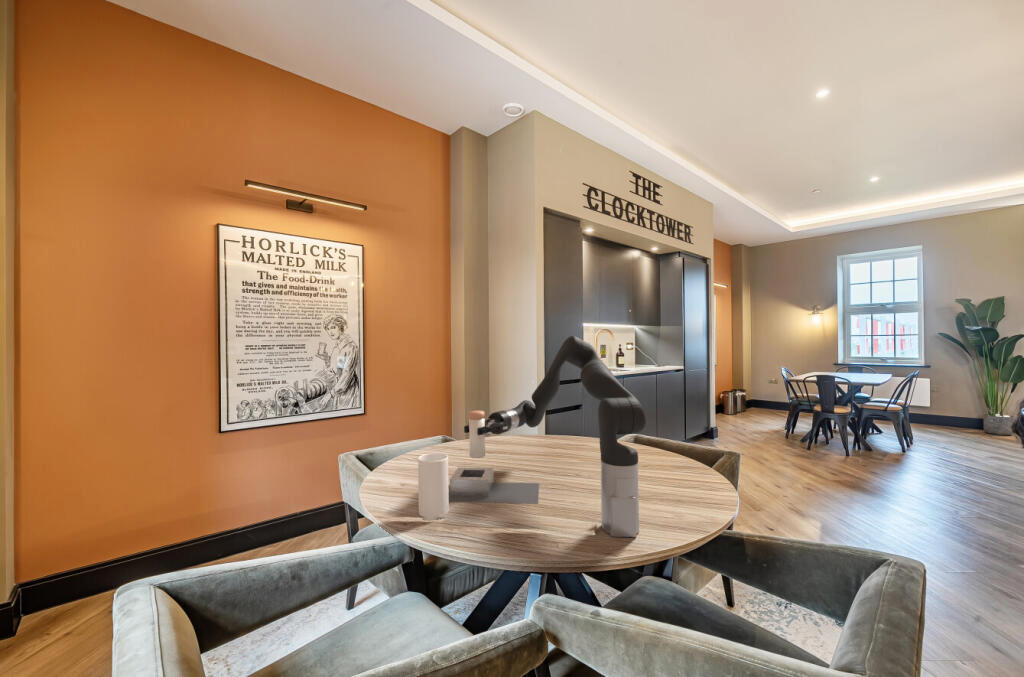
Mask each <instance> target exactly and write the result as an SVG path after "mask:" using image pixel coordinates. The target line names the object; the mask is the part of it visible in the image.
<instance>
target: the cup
mask: <svg viewBox="0 0 1024 677" xmlns="http://www.w3.org/2000/svg"><path fill="white" fill-rule="evenodd" d="M417 460H418V461H417V462H418V466H417V467H418V468H417V470H418V473H417V474H418V475H417V476H418V478H417V480H418V485H417V486H418V514H419V515H420V516H419V517H420V518H422V519H424V520H423V521H426V520H436V521H440V520H443V519H442V518H443V517H442V516H444V515H446V514H447V513H449V510H450V508H449V505H450V504H449V503H450V502H449V492H450V488H449V455H448V454H446V453H443V452H442V453H441V452H439V453H438V452H434V453H433V452H432V453H425V454H422V455H420V456H418V458H417ZM420 518H419V519H420ZM422 519H421V520H422ZM439 519H440V520H439Z"/></svg>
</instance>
